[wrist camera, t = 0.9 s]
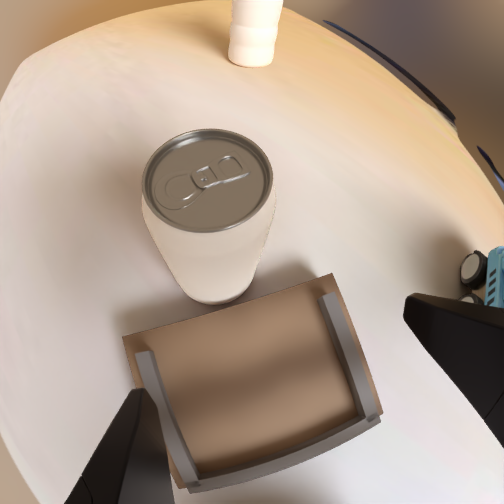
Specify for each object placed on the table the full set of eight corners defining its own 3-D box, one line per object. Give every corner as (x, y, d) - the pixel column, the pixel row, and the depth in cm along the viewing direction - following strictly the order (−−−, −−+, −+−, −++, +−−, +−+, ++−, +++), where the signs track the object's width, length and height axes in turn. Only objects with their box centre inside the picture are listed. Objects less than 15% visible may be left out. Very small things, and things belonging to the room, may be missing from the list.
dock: (368, 409, 18) (391, 415, 15) (183, 476, 15) (176, 495, 12) (321, 282, 22) (338, 267, 19) (133, 339, 19) (115, 334, 16)
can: (162, 252, 22) (116, 155, 11) (229, 219, 24) (236, 109, 13) (197, 320, 20) (165, 273, 9) (269, 281, 22) (313, 199, 11)
